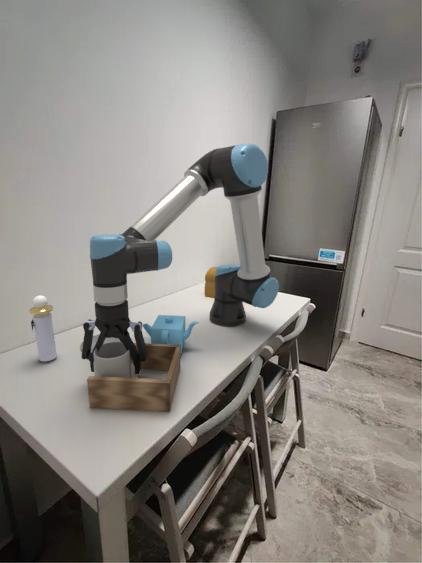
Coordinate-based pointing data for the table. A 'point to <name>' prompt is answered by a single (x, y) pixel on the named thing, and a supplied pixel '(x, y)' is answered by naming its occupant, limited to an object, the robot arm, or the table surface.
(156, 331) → the teapot
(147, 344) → the three-sided wooden frame
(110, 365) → the mug
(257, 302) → the robot arm
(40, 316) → the perfume bottle
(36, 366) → the table surface
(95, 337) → the grey saucer
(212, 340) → the table surface
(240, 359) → the table surface
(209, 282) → the bread
